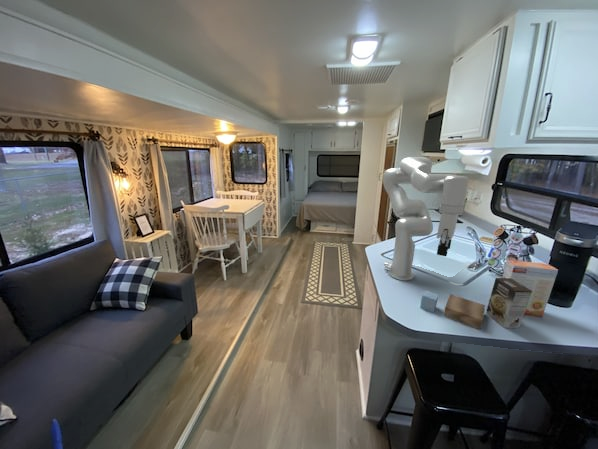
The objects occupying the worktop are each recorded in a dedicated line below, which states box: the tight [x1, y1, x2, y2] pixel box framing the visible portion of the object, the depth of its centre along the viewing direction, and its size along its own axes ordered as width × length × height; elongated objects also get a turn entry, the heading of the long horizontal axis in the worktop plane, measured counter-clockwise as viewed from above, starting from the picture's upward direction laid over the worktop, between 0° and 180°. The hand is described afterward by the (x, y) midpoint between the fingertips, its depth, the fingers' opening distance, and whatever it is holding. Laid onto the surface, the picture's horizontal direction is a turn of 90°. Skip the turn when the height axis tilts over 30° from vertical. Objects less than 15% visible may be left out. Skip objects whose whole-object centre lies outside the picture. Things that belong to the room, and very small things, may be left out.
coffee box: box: [485, 277, 532, 329], centre depth 90 cm, size 9×6×16 cm
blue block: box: [419, 289, 439, 313], centre depth 99 cm, size 5×5×6 cm
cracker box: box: [501, 259, 559, 317], centre depth 96 cm, size 14×6×21 cm, turn 73°
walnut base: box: [443, 293, 486, 330], centre depth 94 cm, size 12×12×4 cm
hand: (443, 251), depth 93 cm, fingers open, 9 cm apart
